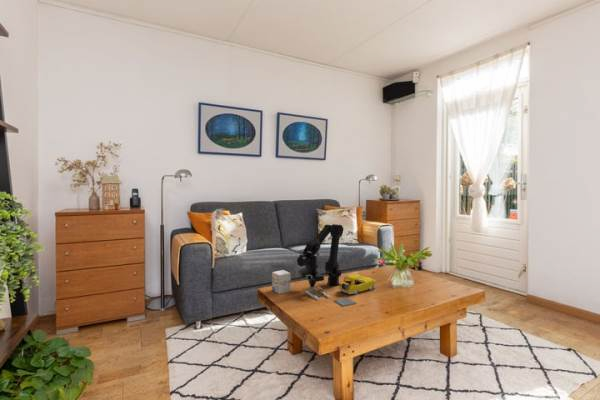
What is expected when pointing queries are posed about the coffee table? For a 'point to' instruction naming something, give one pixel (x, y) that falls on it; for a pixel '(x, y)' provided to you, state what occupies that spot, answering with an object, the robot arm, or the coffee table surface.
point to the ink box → (281, 281)
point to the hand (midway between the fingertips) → (311, 288)
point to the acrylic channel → (316, 296)
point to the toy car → (356, 284)
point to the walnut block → (317, 291)
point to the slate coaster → (345, 301)
